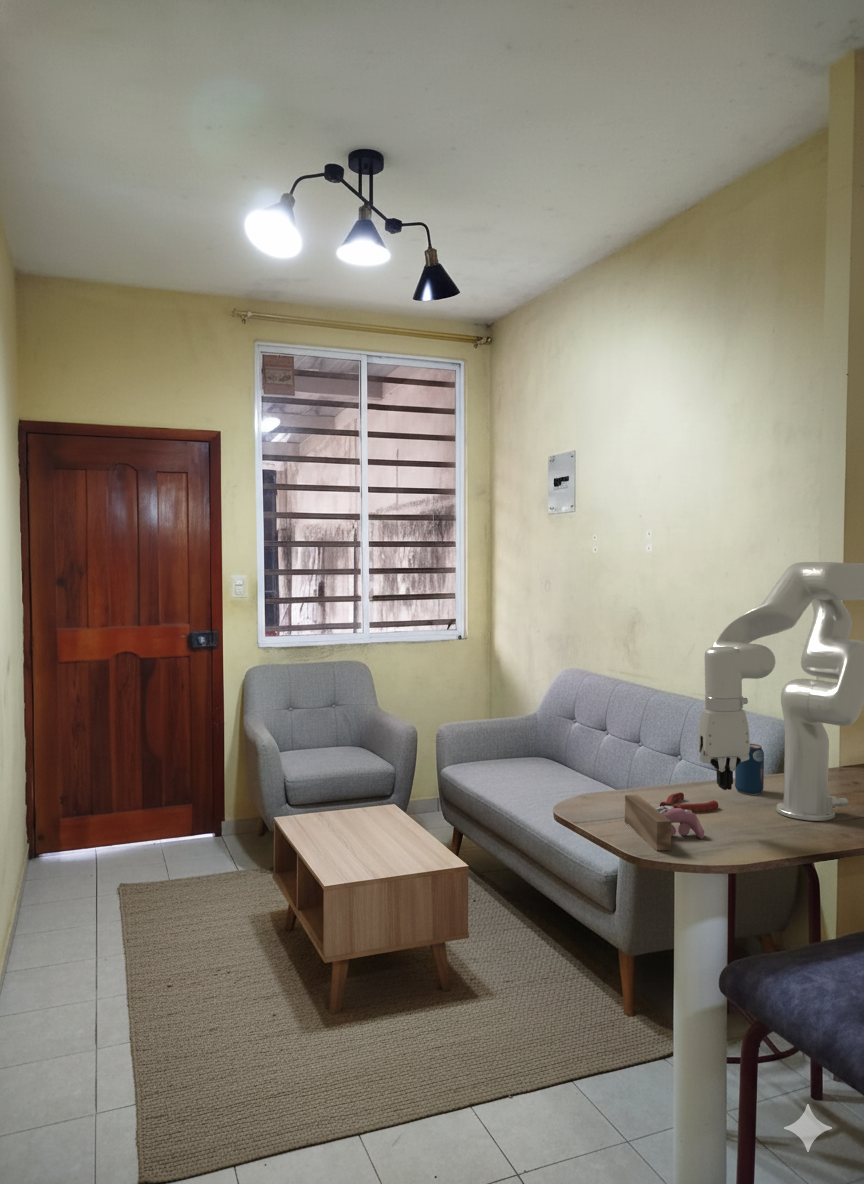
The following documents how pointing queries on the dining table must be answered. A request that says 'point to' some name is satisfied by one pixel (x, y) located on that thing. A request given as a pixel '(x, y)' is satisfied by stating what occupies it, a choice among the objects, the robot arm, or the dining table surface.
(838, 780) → the dining table surface
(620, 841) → the dining table surface
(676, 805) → the pliers
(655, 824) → the bar
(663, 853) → the dining table surface
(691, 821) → the video game controller
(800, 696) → the robot arm
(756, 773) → the soda can
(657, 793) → the dining table surface
